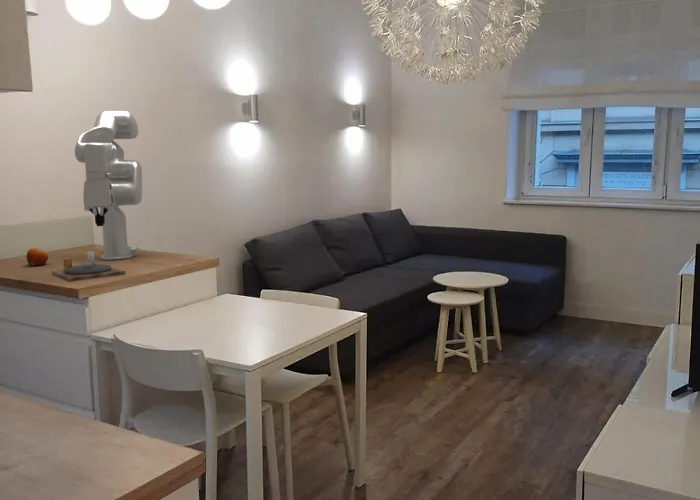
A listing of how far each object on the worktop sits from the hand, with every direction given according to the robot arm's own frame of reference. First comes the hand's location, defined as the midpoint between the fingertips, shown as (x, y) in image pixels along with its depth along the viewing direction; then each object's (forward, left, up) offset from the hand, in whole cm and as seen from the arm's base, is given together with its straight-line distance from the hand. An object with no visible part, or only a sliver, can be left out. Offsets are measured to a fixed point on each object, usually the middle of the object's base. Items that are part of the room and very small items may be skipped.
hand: (100, 225), depth 256 cm
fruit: (+15, -32, -17) cm, 39 cm away
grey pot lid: (+7, +3, -16) cm, 17 cm away
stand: (+7, +3, -17) cm, 19 cm away
